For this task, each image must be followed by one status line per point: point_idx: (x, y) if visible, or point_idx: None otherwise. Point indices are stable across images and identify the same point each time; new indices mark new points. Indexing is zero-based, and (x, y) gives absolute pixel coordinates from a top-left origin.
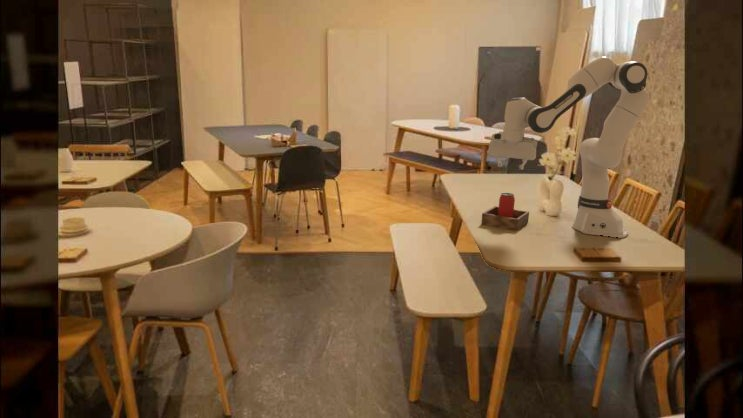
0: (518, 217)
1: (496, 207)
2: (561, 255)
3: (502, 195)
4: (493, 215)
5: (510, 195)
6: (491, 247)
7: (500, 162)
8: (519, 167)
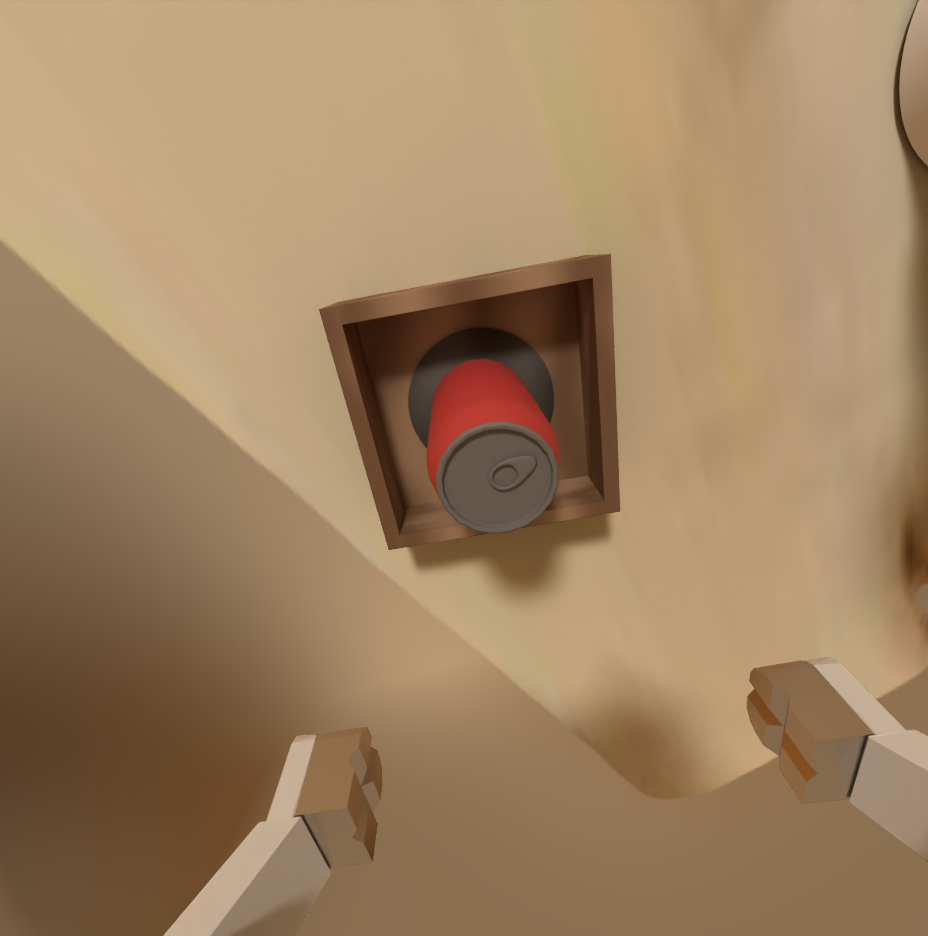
0: (602, 468)
1: (345, 323)
2: (856, 634)
3: (472, 525)
4: (461, 537)
5: (526, 474)
6: (599, 723)
7: (309, 828)
8: (777, 753)
